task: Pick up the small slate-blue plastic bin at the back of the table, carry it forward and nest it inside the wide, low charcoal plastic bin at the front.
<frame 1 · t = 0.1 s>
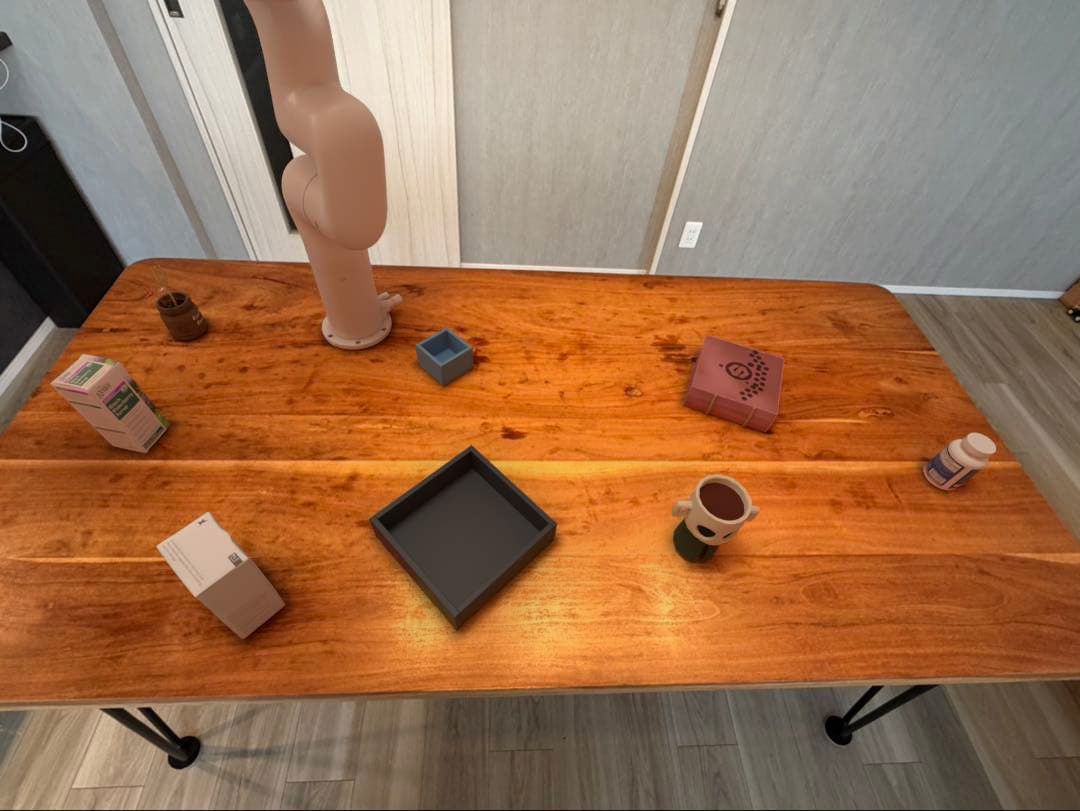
book: (729, 393, 94), on the table
small bin: (446, 366, 93), on the table
utensil holder: (190, 331, 95), on the table
syrup box: (142, 436, 79), on the table
large bin: (465, 538, 72), on the table
character mug: (692, 544, 74), on the table
cosmetic box: (250, 601, 65), on the table
pill bottle: (938, 478, 85), on the table
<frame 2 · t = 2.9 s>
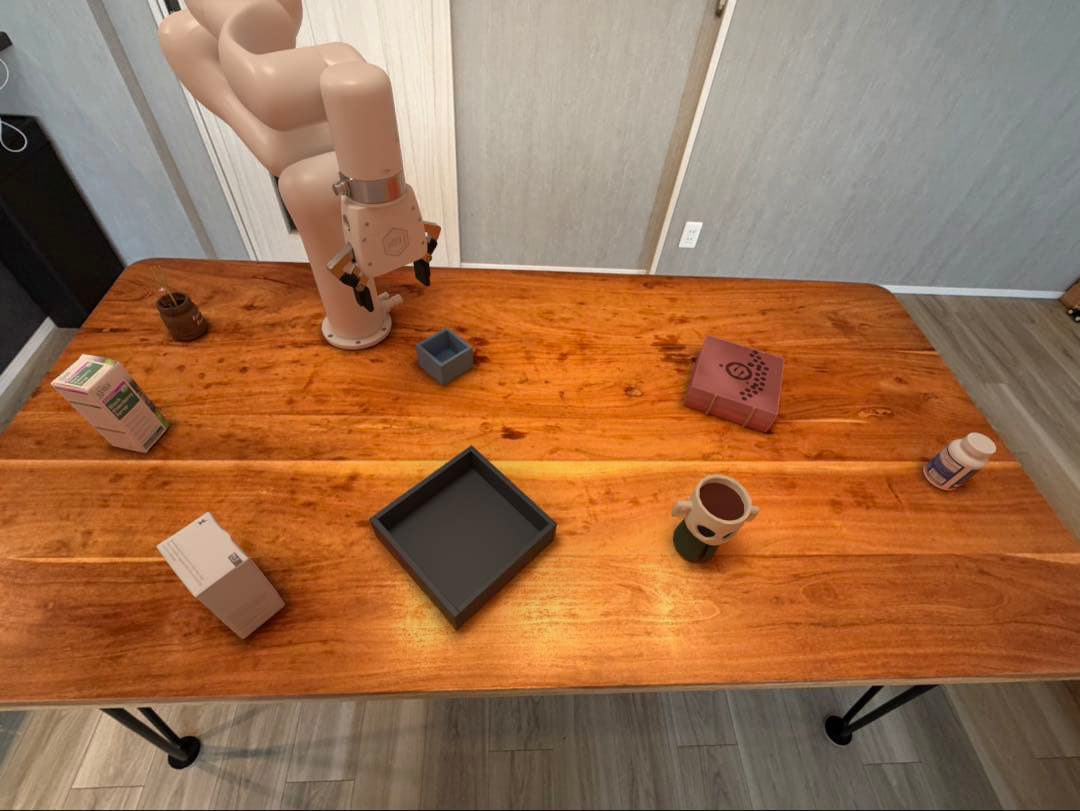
hand: (395, 294, 77), 18 cm above the table, tool pointing down, fingers open, 9 cm apart
nothing on the table moved.
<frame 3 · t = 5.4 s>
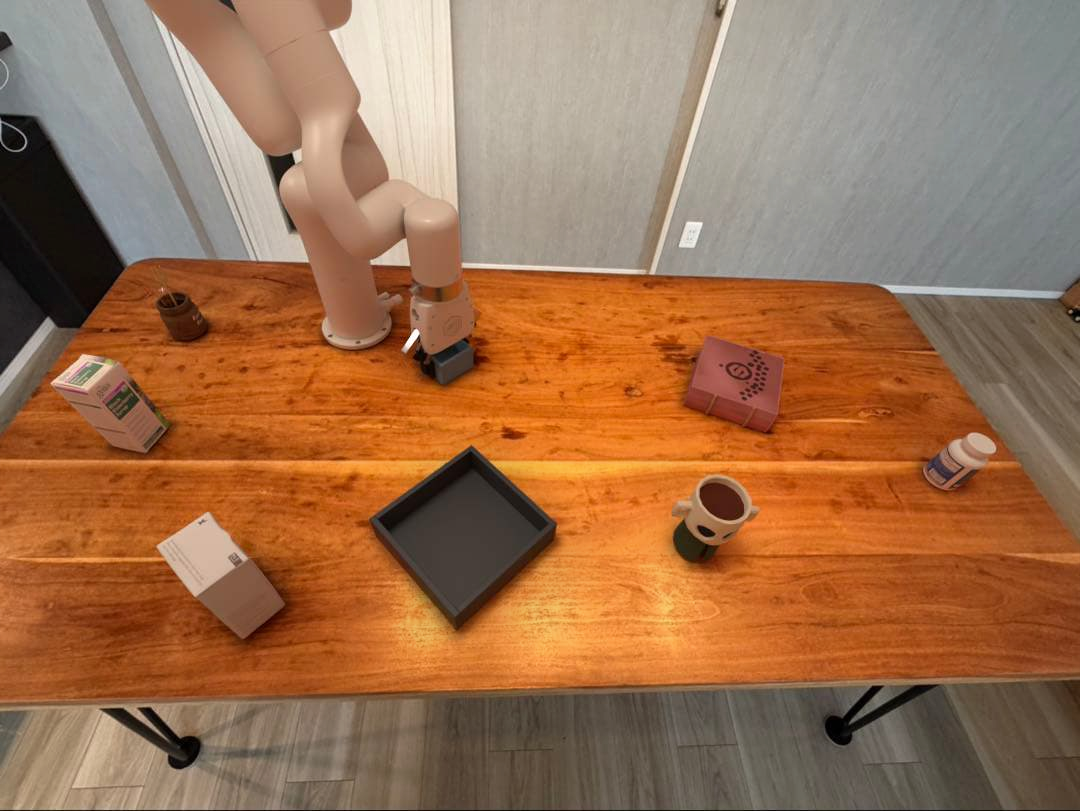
hand: (446, 363, 93), 1 cm above the table, tool pointing down, fingers closed on small bin, 7 cm apart
small bin: (446, 366, 93), on the table, touching gripper
everything else where it was.
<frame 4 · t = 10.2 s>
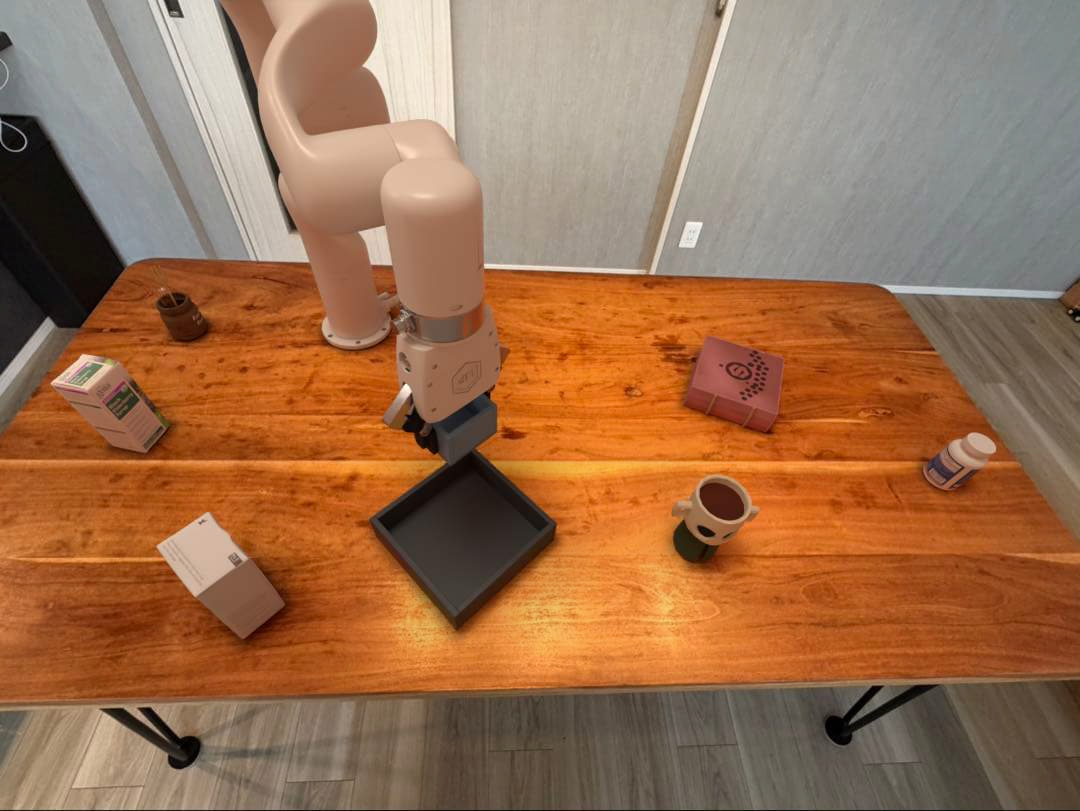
hand: (454, 427, 60), 20 cm above the table, tool pointing down, fingers closed on small bin, 7 cm apart
small bin: (455, 431, 60), point 19 cm above the table, touching gripper
everything else where it was.
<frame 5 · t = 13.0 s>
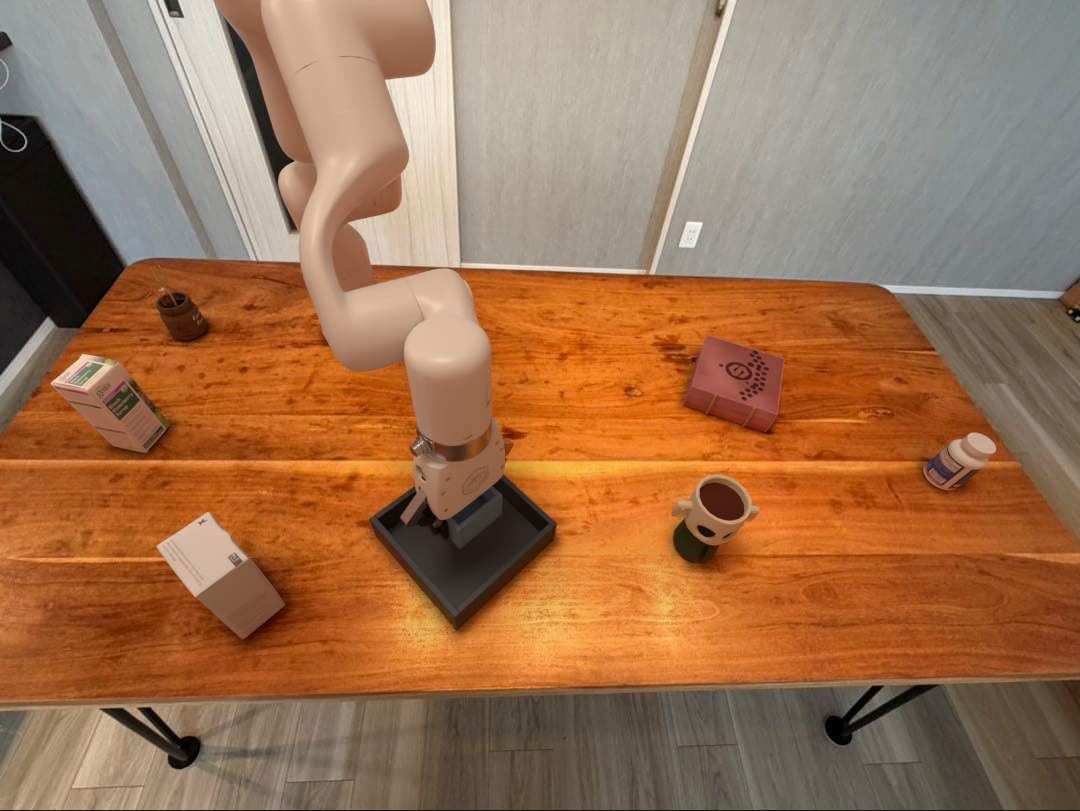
hand: (463, 511, 66), 8 cm above the table, tool pointing down, fingers closed on small bin, 7 cm apart
small bin: (463, 513, 67), point 7 cm above the table, touching gripper
everything else where it was.
when the fingers open (1 cm above the table, at t = 15.2 s): small bin stays where it is, resting on large bin.
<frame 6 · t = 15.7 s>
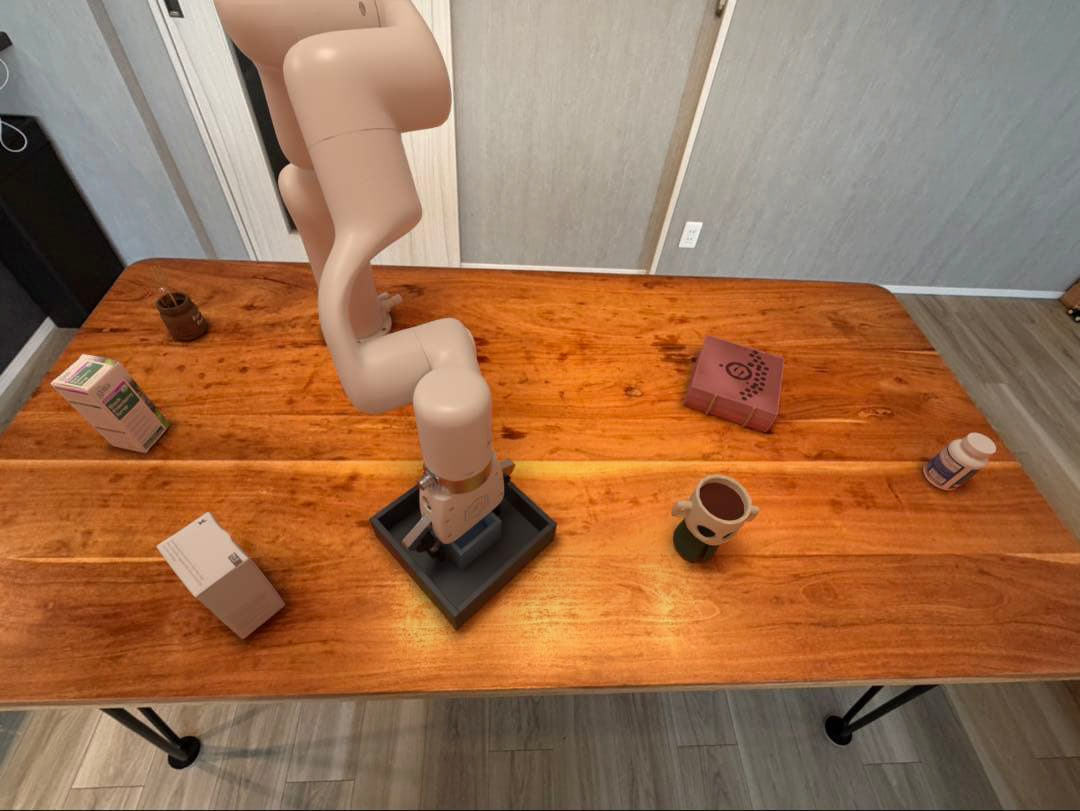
hand: (464, 530, 70), 2 cm above the table, tool pointing down, fingers open, 9 cm apart
small bin: (465, 536, 72), point 1 cm above the table, touching large bin
everything else where it was.
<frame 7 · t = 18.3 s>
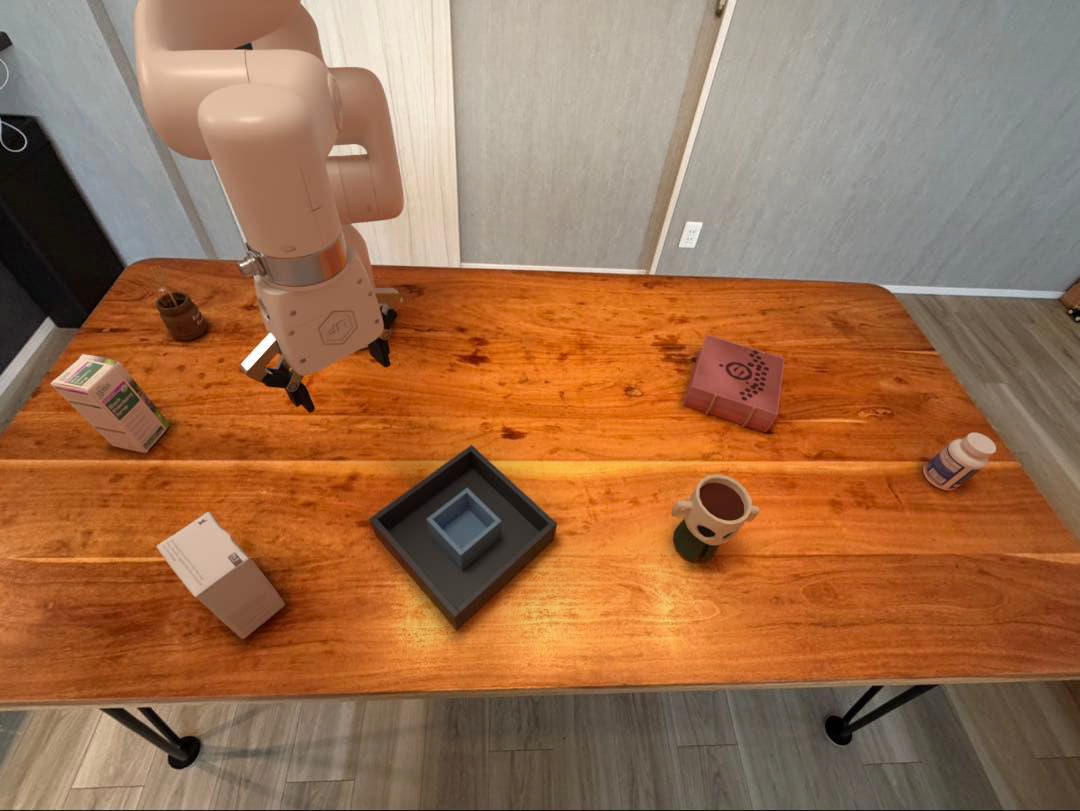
hand: (344, 381, 58), 24 cm above the table, tool pointing down, fingers open, 9 cm apart
nothing on the table moved.
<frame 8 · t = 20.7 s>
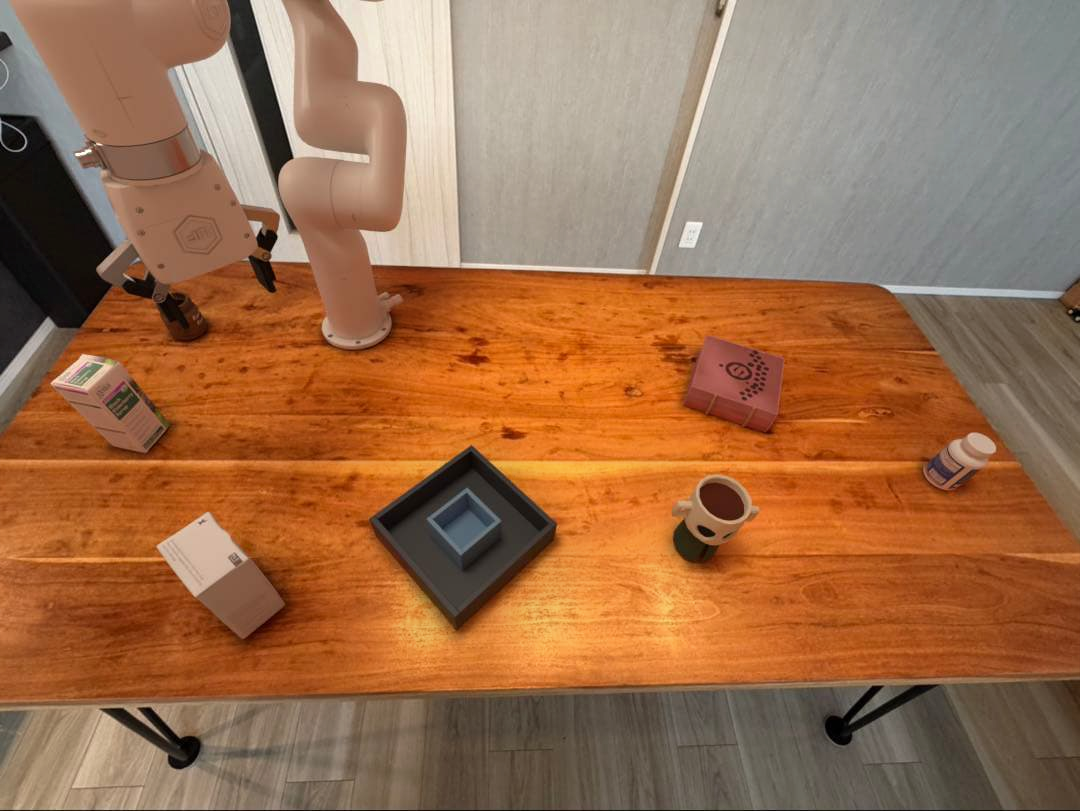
hand: (226, 304, 58), 28 cm above the table, tool pointing down, fingers open, 9 cm apart
nothing on the table moved.
at the end: small bin inside the target area in the large bin (0.1 cm from its centre), point 0.6 cm above the large bin's base; small bin tilted 0° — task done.
